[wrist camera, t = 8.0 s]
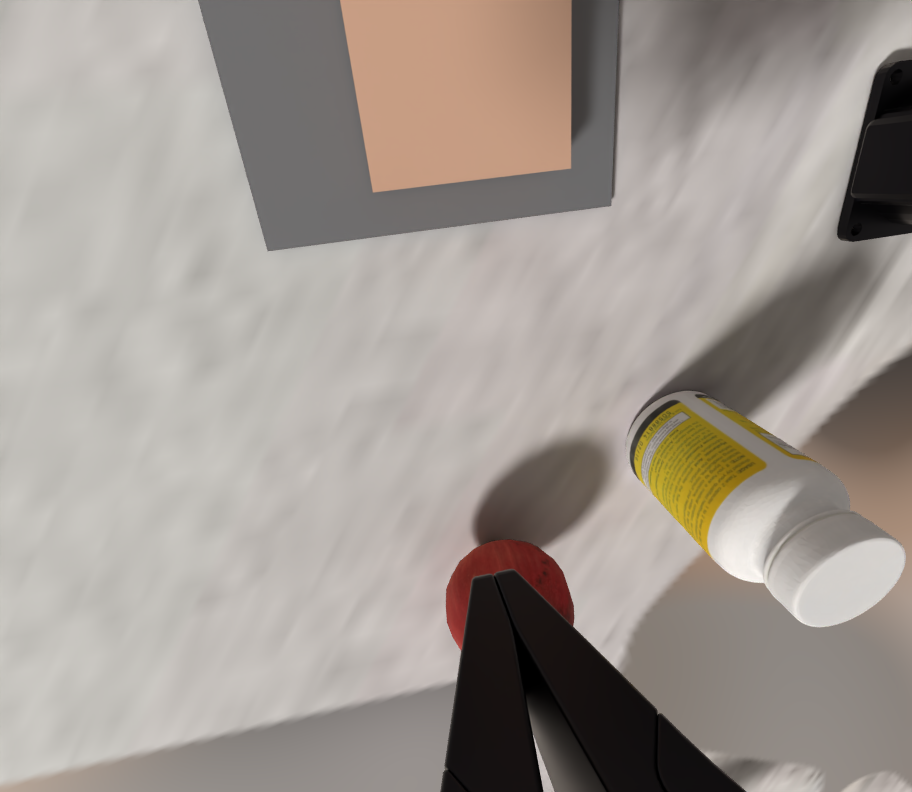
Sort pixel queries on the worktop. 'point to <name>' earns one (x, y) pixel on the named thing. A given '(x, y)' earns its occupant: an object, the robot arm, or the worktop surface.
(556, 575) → the onion
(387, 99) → the block
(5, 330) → the worktop surface
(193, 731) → the worktop surface
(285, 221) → the slate mat
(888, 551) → the supplement bottle
